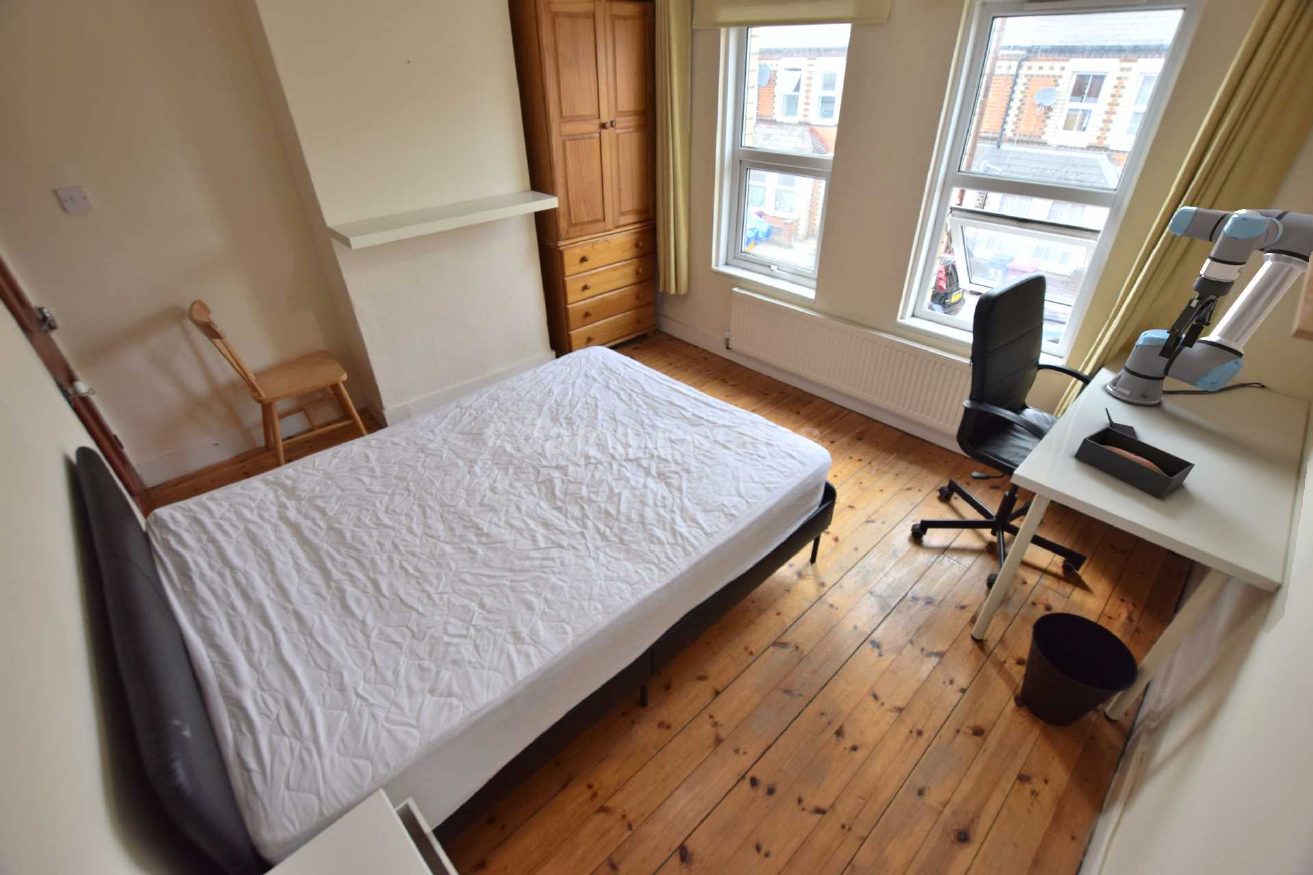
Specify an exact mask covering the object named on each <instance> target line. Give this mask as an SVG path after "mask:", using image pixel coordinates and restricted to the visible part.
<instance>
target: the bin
mask: <svg viewBox="0 0 1313 875" xmlns="http://www.w3.org/2000/svg"><path fill="white" fill-rule="evenodd" d="M1101 445H1105V446H1111V447H1115V448H1119V449H1121V450H1124V451H1127V452H1129V453H1131V454H1135V455H1136V456H1139V457H1141V458H1143V459H1146V460H1148V461H1150V462H1151V463H1153V464H1154V465H1155V466H1157V467H1158V468H1159V469H1160V470H1162V471H1163V472H1164V473H1165V474H1167V475H1164V474H1162V473H1160V472H1158V471H1156V470H1154V469H1151V468H1149V467H1147V466H1145V465H1143V464H1141V463H1138V462H1136V461H1134V460H1132V459H1130V458H1128V457H1125V456H1123V455H1121V454H1119V453H1117V452H1114V451H1112V450H1110V449H1108V448H1106V447H1104V446H1101ZM1074 458H1075V459H1078V460H1079V461H1081V462H1083V463H1085V464H1088V465H1090V466H1092V467H1094V468H1096V469H1098V470H1100V471H1102V472H1104V473H1106V474H1108V475H1110V476H1112V477H1114V478H1116V479H1119V480H1120V481H1122V482H1124V483H1126V484H1128V485H1131V486H1132V487H1135V488H1137V489H1139V490H1141V491H1143V492H1145V493H1147V494H1150V495H1151V496H1153V497H1155V498H1157V499H1159V500H1161V499H1162V498H1164V497H1166V495H1169V493H1171V492H1172V491H1174V490H1175V489H1177V488H1179V487H1180V486H1181V485H1183V484H1184V482H1185V480H1186V479H1187V477H1188V476H1189V474H1190V473H1191V471H1192V470H1193V469H1194V467H1195V463H1193V462H1190V461H1188V460H1186V459H1184V458H1181V457H1179V456H1176V455H1174V454H1172V453H1170V452H1168V451H1166V450H1163V449H1160V448H1159V447H1156V446H1153V445H1151V444H1149V443H1147V442H1144V441H1142V440H1139V439H1138V438H1137V439H1135V438H1133V437H1131V436H1128V435H1126V434H1124V433H1122V432H1119V431H1117V430H1115V429H1112V428H1111V426H1107V425H1106V426H1105V427H1103V428H1101V429H1099V430H1097V431H1095V432H1093V433H1091V434H1089V435H1087V436H1085V437H1084V438H1083V439H1082V441H1081V443H1080V446H1079V447H1078V449H1077V451H1076V453H1075V455H1074Z"/></svg>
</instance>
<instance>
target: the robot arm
mask: <svg viewBox="0 0 1313 875" xmlns="http://www.w3.org/2000/svg"><path fill="white" fill-rule="evenodd" d="M1168 232H1169V233H1170V234H1172V235H1176V236H1179V237H1184V238H1190V239H1195V240H1199V241H1205V242H1209V243H1214V246H1213V248H1212V249H1211V252H1210V254H1209V256H1208V257H1207V259H1206V261H1205V262H1204V263H1203V265H1202V267H1201V269H1200V271H1199V273H1200V274H1199V275H1198V276H1197V277H1196V279H1195V281H1194V283H1193V284H1192V287H1191V289H1192V290H1193V291H1194V292H1197V295H1196V297H1192V298H1190V299H1189V300H1188V302H1187V304H1186V306H1185V307H1184V308H1183V310H1182V311H1181V313H1180V315H1179V316H1178V318H1176V320H1175V322H1174V323H1173V324H1172V325H1171V327H1170V329H1150V330H1145V331H1144V332H1142V333H1141V334H1140V335H1139V337H1138V339H1137V341H1136V342H1135V343H1134V344H1135V345H1134V346H1133V348H1132V350H1131V352H1130V354H1129V356H1128V358H1127V359H1126V362H1125V363H1124V366H1123V368H1122V369H1121V370H1120V371H1119V372H1118V373H1117V374H1115V376H1114V377H1112V378H1111V380H1109V382H1108V383H1107V385H1106V386H1105V389H1106V390H1105V391H1106V392H1108V393H1109V394H1110V395H1111V396H1112V397H1115V399H1119V400H1120V401H1123V402H1126V403H1130V404H1134V405H1139V406H1155V405H1158V404H1159V403H1160V401H1161V400H1162V396H1163V393H1168V394H1169V393H1170V394H1171V393H1174V394H1175V393H1211V392H1213V393H1214V392H1218V391H1224V390H1228V389H1231V388H1236V387H1240V386H1249V385H1250V386H1251V385H1252V386H1253V385H1257V386H1258V385H1259V386H1260V387H1262V388H1265V384H1263V383H1262V382H1259V383H1258V381H1257V382H1254V381H1253V382H1242V383H1236V384H1232V385H1228V384H1229V383H1230V382H1231V381H1233V380H1234V378H1236V376H1238V374H1239V373H1240V372H1241V370H1242V369H1243V368H1244V366H1245V364H1246V361H1245V360H1244V358H1243V357H1244V355H1245V352H1244V349H1243V348H1244V346H1245V344H1247V342H1248V341H1249V339H1250V338H1251V337H1252V335H1253V334H1254V333H1255V332H1256V330H1257V329H1258V328H1259V326H1261V324H1262V323H1263V322H1264V321H1265V319H1266V318H1267V317H1268V316H1269V314H1270V313H1271V311H1272V310H1273V309H1274V308H1275V307H1276V306H1277V304H1278V303H1279V302H1280V300H1281V299H1282V298H1283V296H1284V295H1285V294H1286V293H1287V291H1288V290H1289V288H1290V287H1291V286H1292V285H1293V284H1294V282H1295V281H1296V280H1297V279H1298V278H1299V277H1300V276H1301V274H1302V273H1306V272H1308V271H1307V264H1308V262H1309V257H1310V255H1311V252H1312V251H1313V214H1306V213H1300V212H1294V211H1289V210H1288V211H1287V210H1282V209H1248V208H1247V209H1240V210H1237V211H1231V210H1230V211H1229V210H1220V209H1219V210H1218V209H1207V208H1201V207H1197V206H1188V205H1187V206H1186V205H1185V206H1183V207H1180V208H1179V209H1178V210H1177V211H1176V212H1175V213H1174V215H1173V217H1172V218H1171V220H1170V222H1169V225H1168ZM1254 251H1259V252H1264V253H1263V255H1262V256H1261V258H1262V260H1263V265H1262V266H1261V267H1260V269H1259V270H1258V271H1257V272H1256V274H1255V275H1254V276H1253V277H1252V279H1251V280H1250V281H1249V283H1248V284H1247V285H1246V287H1245V288H1244V289H1243V291H1242V292H1241V293H1240V294H1239V296H1238V297H1237V298H1236V299H1235V301H1233V303H1232V305H1231V306H1230V307H1229V308H1228V310H1227V311H1226V313H1225V314H1224V316H1222V318H1221V319H1220V321H1219V322H1218V323H1217V324H1216V325H1215V327H1214V328H1213V330H1212V331H1211V332H1210V333H1209V335H1207V336H1204V337H1200V336H1201V334H1202V332H1203V330H1204V329H1205V327H1210V325H1211V324H1212V323H1211V321H1212V318H1213V316H1214V313H1215V311H1216V309H1217V306H1218V304H1219V301H1220V299H1221V297H1225V296H1228V295H1229V294H1230V291H1231V290H1232V288H1233V286H1234V285H1235V280H1237V279H1238V278H1239V275H1240V274H1243V273H1244V272H1245V268H1244V267H1245V266H1246V264H1247V261H1249V259H1250V257H1251V255H1252V253H1254ZM1186 331H1187V332H1186ZM1185 333H1186V334H1185ZM1199 337H1200V338H1199ZM1166 377H1169V378H1171V379H1173V380H1177V381H1179V382H1182V383H1185V384H1188V385H1190V386H1193V387H1194V388H1196V389H1197V388H1198V389H1197V390H1196V389H1195V390H1194V389H1175V390H1172V389H1171V390H1170V389H1168V390H1167V389H1164V381H1165V379H1166ZM1261 383H1262V384H1263V385H1261ZM1227 385H1228V386H1227ZM1199 389H1200V390H1199Z"/></svg>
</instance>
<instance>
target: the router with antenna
mask: <svg viewBox="0 0 1313 875" xmlns="http://www.w3.org/2000/svg"><path fill="white" fill-rule="evenodd" d="M1104 409H1105V412H1106V416H1107V419H1108V423H1109V427H1110V428H1112V429H1115V430H1117V431H1119V432H1122V433H1124V434H1126V435H1128V436H1131V437H1133V438H1135V439H1138V437H1137V434H1136V431H1135V428H1134V426H1132V425H1128V424H1122V423H1119V422H1114V421H1113V419H1112V417H1111V414H1110V412H1109V410H1108V407H1105V408H1104Z"/></svg>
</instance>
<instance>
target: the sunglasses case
mask: <svg viewBox="0 0 1313 875" xmlns="http://www.w3.org/2000/svg"><path fill="white" fill-rule="evenodd" d="M1101 446H1104V447H1106V448H1108V449H1110V450H1112V451H1114V452H1117V453H1119V454H1121V455H1123V456H1125V457H1128V458H1130V459H1132V460H1134V461H1136V462H1138V463H1141V464H1143V465H1145V466H1147V467H1149V468H1151V469H1154V470H1156V471H1158V472H1160V473H1162V474H1164V475H1167V474H1165V473H1164V472H1163V471H1162V470H1160V469H1159V468H1158V467H1157V466H1155V465H1154V464H1153V463H1151V462H1150V461H1148V460H1146V459H1143V458H1141V457H1139V456H1136V455H1135V454H1131V453H1129V452H1127V451H1124V450H1121V449H1119V448H1115V447H1111V446H1105V445H1101Z"/></svg>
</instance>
